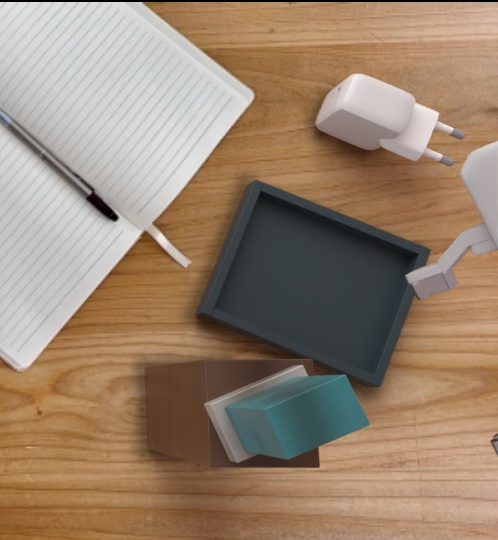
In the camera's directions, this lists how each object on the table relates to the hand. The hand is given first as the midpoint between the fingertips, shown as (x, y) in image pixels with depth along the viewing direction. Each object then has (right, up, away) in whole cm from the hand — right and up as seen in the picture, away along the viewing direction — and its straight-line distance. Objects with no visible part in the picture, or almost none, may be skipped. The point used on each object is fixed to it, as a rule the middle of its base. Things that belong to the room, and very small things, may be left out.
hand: (455, 367), depth 45 cm
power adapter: (+12, +17, +31) cm, 37 cm away
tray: (+5, +4, +29) cm, 30 cm away
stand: (-5, -7, +28) cm, 29 cm away
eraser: (-6, -4, +10) cm, 13 cm away
